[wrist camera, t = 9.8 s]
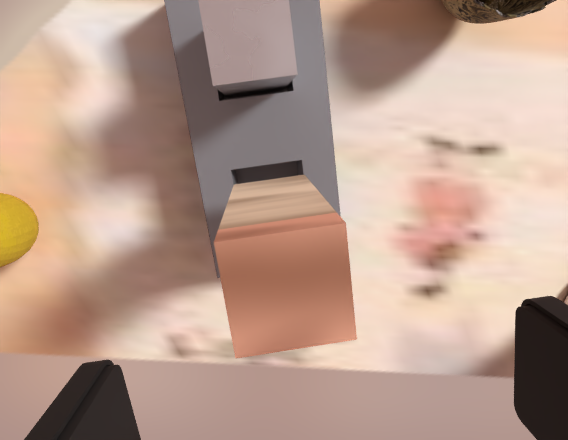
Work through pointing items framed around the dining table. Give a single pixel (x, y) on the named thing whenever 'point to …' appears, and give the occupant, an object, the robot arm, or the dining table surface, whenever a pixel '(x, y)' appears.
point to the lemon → (15, 228)
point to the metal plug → (249, 45)
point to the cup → (492, 9)
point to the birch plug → (284, 268)
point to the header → (255, 115)
